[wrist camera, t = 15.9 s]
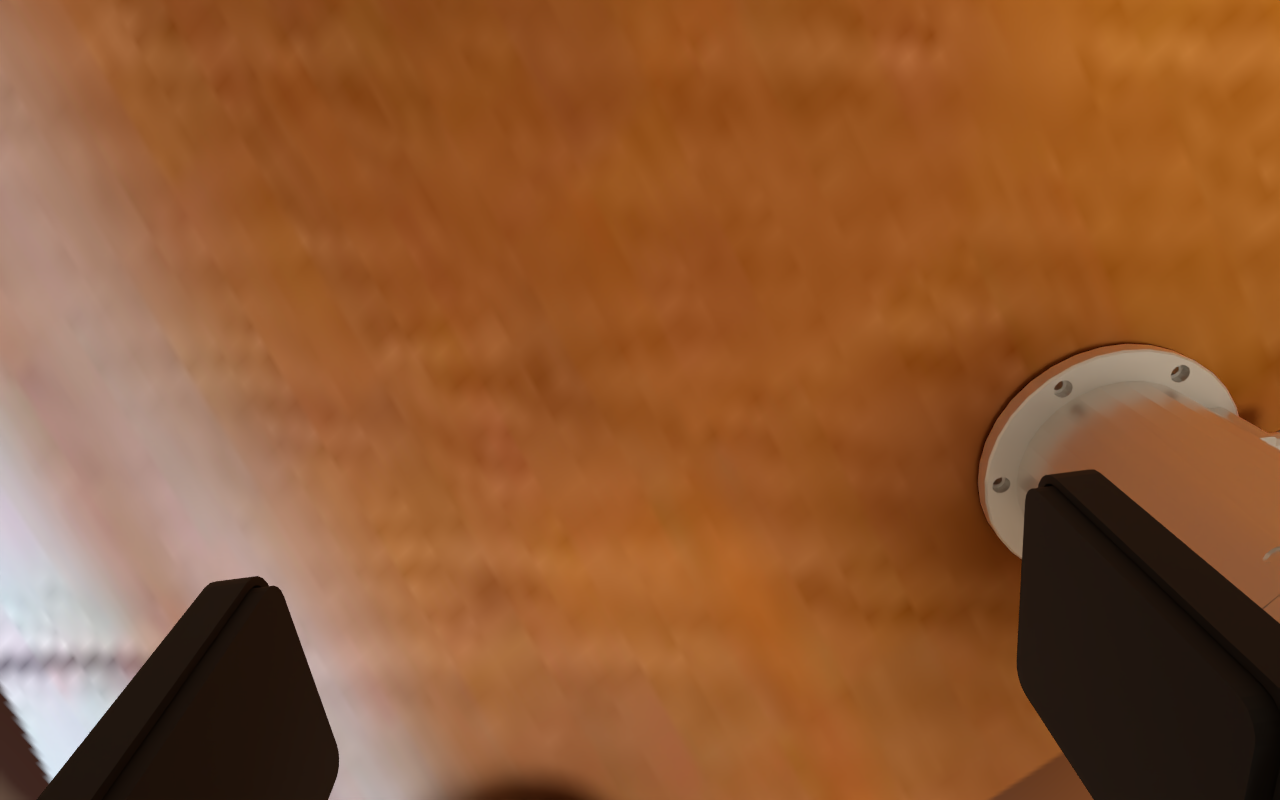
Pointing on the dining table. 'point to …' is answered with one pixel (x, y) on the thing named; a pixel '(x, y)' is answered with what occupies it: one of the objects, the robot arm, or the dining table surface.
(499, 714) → the dining table surface
